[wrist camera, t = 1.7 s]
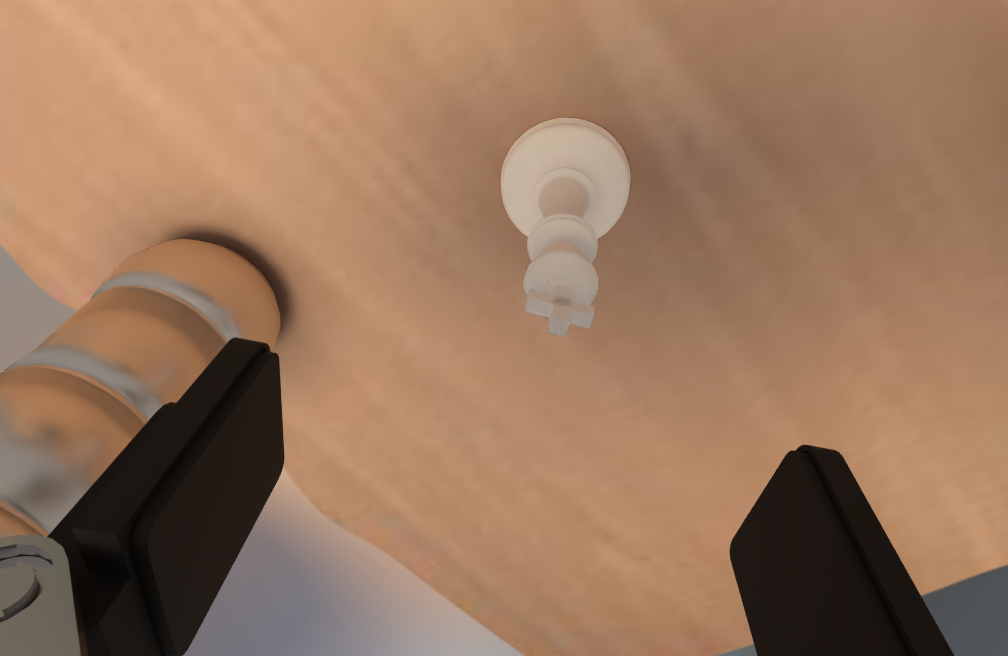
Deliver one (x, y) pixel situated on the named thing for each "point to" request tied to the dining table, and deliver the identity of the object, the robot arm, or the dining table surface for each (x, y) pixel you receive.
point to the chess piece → (564, 212)
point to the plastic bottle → (119, 371)
